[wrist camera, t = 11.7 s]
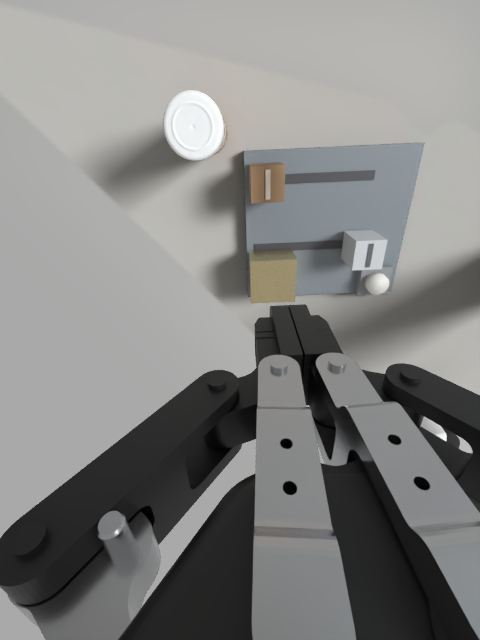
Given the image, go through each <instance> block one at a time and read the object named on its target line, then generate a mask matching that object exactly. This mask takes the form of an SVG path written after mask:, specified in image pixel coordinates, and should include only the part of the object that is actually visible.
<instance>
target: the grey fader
mask: <svg viewBox="0 0 480 640" xmlns="http://www.w3.org/2000/svg"><path fill="white" fill-rule="evenodd" d="M387 241H388V240H387V239H386V238H384V237H383V236H381V235H380V234H378V233H376V232H375V231H373V230H358V231H344V237H343V245H342V252H341V259H342V260H343V261H344V262H345V263H346V264H347V266H348V267H349V268H350V269H351V270H352V271H353V270H376V269H382V266H383V261H384V256H385V251H386V246H387Z"/></svg>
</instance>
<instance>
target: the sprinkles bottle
mask: <svg viewBox="0 0 480 640" xmlns="http://www.w3.org/2000/svg"><path fill="white" fill-rule="evenodd" d="M163 128H164V134H165V137H166V139H167V142H168V143H169V145H170V147H171V148H172V149H173V150H174V151H175V152H176V153H177V154H178V155H179V156H181V157H182V158H184V159H187V160H191V161H201V160H205V159H207V158H209V157H211V156H212V155H214V154H216V153H218V152H219V151H220V150H221V149H222V148H223V147H224V145H225V143H226V140H227V134H228V131H227V126H226V123H225V121H224V119H223V117H222V115H221V112H220V110H219V108H218V107H217V105H216V104H215V103H214V101H213V100H212V99H211V98H210V97H208V96H207V95H206V94H204V93H202V92H199V91H195V90H187V91H183V92H180V93H178V94H177V95H175V96H174V97H173V98H172V99H171V100H170V102H169V103H168V105H167V107H166V109H165V113H164V118H163Z"/></svg>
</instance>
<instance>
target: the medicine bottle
mask: <svg viewBox="0 0 480 640" xmlns="http://www.w3.org/2000/svg"><path fill="white" fill-rule="evenodd" d="M421 427H423V428H424V429H426V430H428V431H429V432H431V433H433V434H434V435H436V436H438V437H439V438H441V439H443V440H445V441H446V442H448V443H450V444H451V445H453V446H455V447H456V448H459V445H460V440H459V438H458V437H457V436H456V434H454V433H452V432H451V431H449V430H447V429H445V428H443V427H442V426H440V425H438V424H436V423H435V422H433V421H431V420H429V419H428V418H426V417H424V418H423V420H422V423H421Z"/></svg>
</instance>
